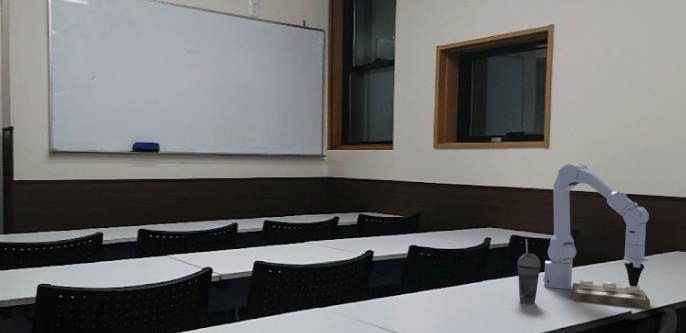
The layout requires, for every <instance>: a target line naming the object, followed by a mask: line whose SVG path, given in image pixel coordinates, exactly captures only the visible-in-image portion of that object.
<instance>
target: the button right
mask: <svg viewBox="0 0 686 333" xmlns="http://www.w3.org/2000/svg"><path fill="white" fill-rule="evenodd" d="M625 286H626V287H625V288H626V290H627V291H631V292H640V290H641V285H637V286H630V285H629V283H628V284H625Z"/></svg>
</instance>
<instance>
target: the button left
mask: <svg viewBox="0 0 686 333" xmlns="http://www.w3.org/2000/svg"><path fill="white" fill-rule="evenodd" d="M579 284H580V285H581V286H585V287H593V285H594V280H591V279H584V278H583V279H580V281H579Z"/></svg>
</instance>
